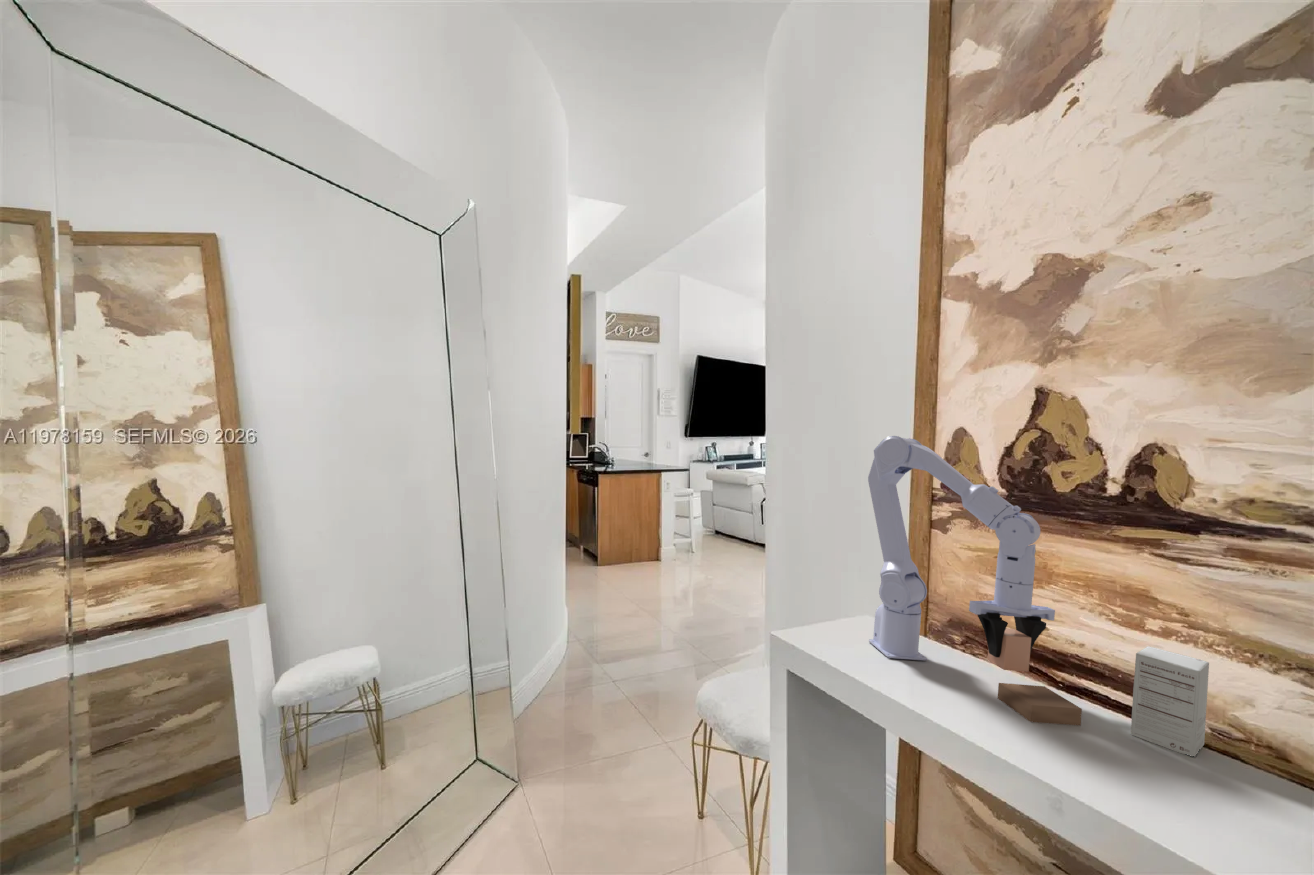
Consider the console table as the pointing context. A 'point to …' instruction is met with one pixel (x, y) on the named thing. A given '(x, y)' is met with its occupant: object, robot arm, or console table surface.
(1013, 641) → the cube
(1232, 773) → the console table surface
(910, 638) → the robot arm
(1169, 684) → the supplement box
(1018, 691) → the walnut block
